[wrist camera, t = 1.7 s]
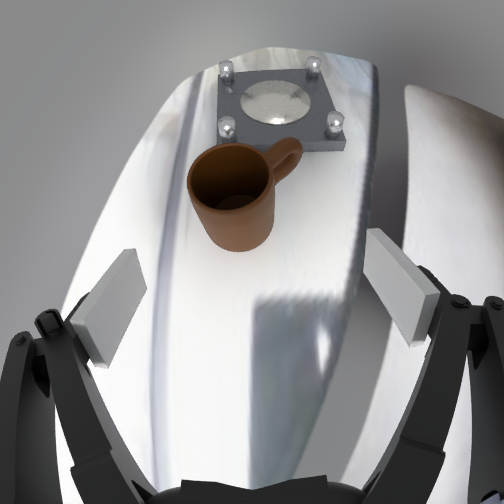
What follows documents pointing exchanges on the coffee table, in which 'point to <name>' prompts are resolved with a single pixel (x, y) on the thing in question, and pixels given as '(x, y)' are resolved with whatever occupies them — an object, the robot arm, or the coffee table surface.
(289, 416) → the coffee table surface
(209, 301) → the coffee table surface
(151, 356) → the coffee table surface
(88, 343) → the robot arm
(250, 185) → the mug
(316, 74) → the chassis
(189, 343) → the coffee table surface
